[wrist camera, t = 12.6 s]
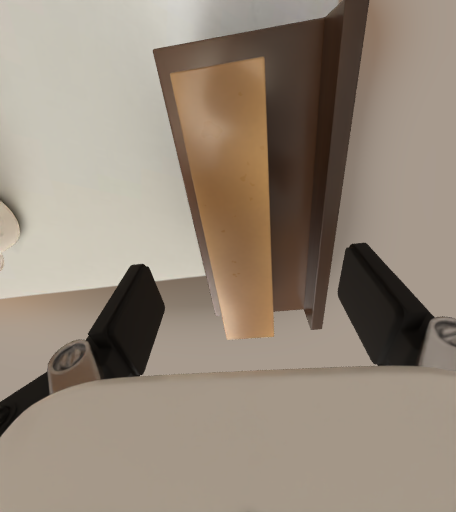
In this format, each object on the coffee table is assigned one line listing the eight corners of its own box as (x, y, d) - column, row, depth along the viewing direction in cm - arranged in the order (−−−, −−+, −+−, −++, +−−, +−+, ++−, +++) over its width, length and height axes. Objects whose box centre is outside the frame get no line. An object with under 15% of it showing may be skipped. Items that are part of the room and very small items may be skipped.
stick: (256, 69, 13) (264, 56, 9) (267, 302, 22) (274, 336, 19) (185, 81, 13) (169, 73, 10) (227, 305, 23) (227, 340, 19)
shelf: (288, 59, 23) (371, -8, 9) (286, 239, 34) (322, 329, 21) (191, 76, 24) (135, 37, 10) (221, 246, 35) (213, 337, 22)
